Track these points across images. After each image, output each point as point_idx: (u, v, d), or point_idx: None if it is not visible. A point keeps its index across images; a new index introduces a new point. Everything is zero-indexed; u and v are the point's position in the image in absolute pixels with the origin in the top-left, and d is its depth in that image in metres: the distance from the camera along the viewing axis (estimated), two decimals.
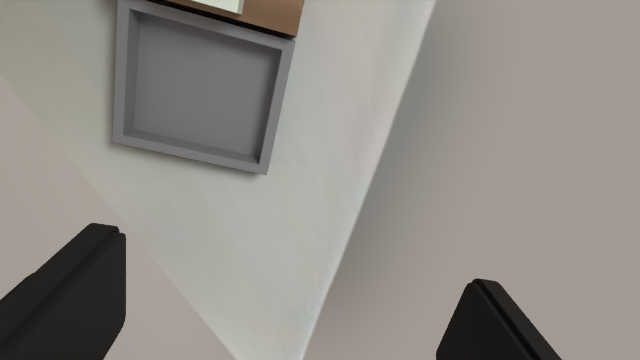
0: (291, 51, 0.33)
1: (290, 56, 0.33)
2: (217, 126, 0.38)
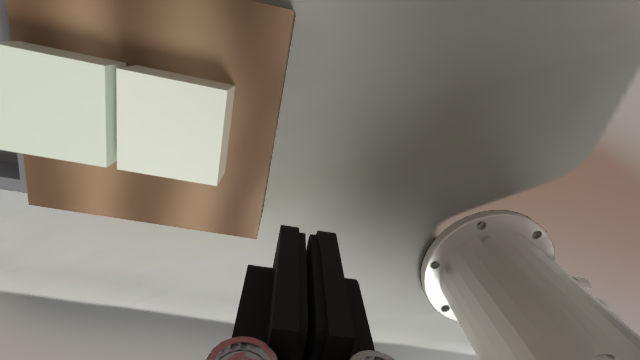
0: (22, 190, 0.25)
1: (15, 189, 0.25)
2: None
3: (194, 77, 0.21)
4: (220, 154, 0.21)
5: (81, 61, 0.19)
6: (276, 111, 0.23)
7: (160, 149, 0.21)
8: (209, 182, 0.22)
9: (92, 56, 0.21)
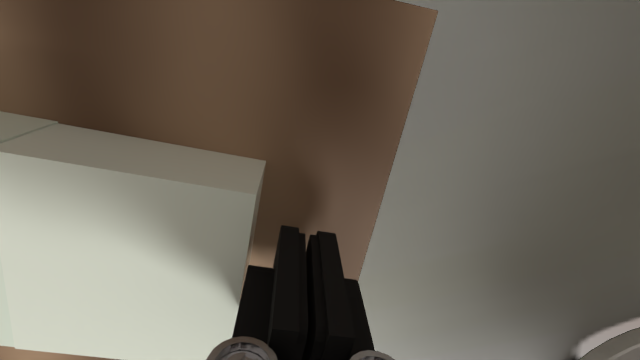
0: None
1: None
2: None
3: (181, 148, 0.10)
4: None
5: None
6: (376, 210, 0.11)
7: (106, 311, 0.09)
8: None
9: None
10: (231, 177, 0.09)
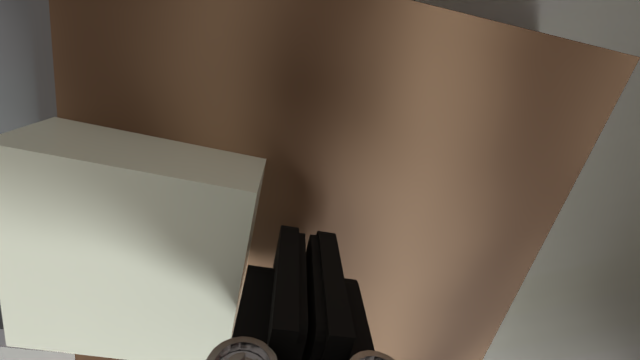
0: None
1: None
2: None
3: (181, 144, 0.10)
4: (234, 314, 0.10)
5: None
6: (543, 236, 0.12)
7: (102, 309, 0.09)
8: None
9: None
10: (231, 175, 0.09)
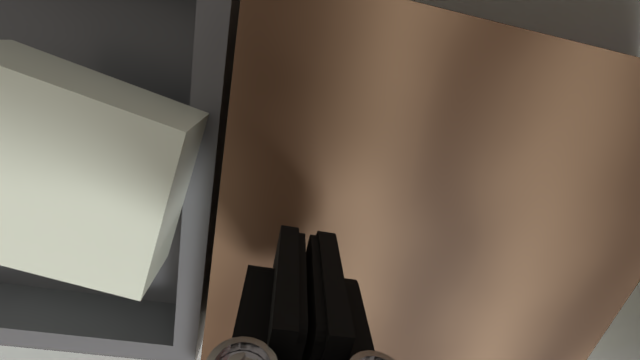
0: None
1: (163, 359, 0.15)
2: None
3: (129, 85, 0.11)
4: (155, 247, 0.11)
5: None
6: None
7: (27, 223, 0.10)
8: (126, 294, 0.11)
9: None
10: (168, 116, 0.10)
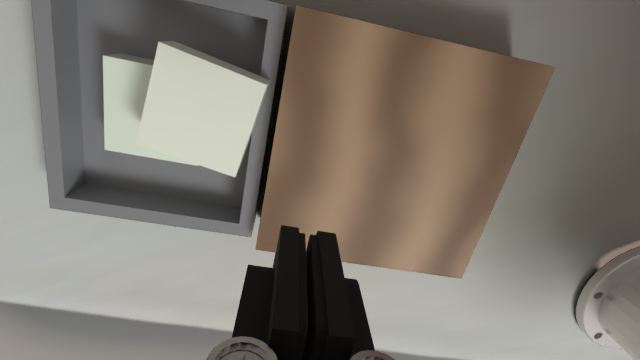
0: (238, 233, 0.26)
1: (232, 233, 0.26)
2: None
3: (231, 64, 0.21)
4: (245, 146, 0.21)
5: (141, 58, 0.23)
6: (512, 160, 0.23)
7: (186, 131, 0.20)
8: (228, 172, 0.21)
9: (136, 61, 0.21)
10: (255, 78, 0.20)
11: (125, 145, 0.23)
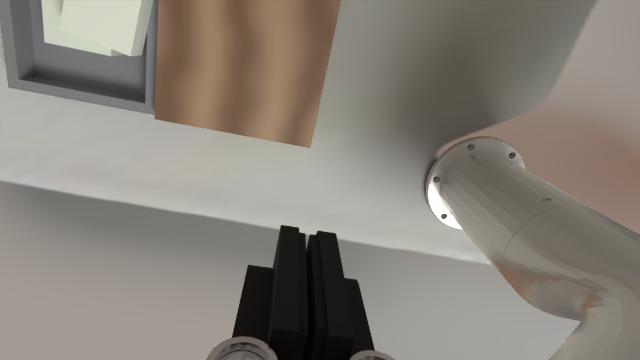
0: (145, 111, 0.36)
1: (141, 111, 0.36)
2: None
3: None
4: (135, 33, 0.31)
5: None
6: (329, 51, 0.33)
7: (93, 20, 0.30)
8: (125, 52, 0.31)
9: None
10: None
11: (58, 39, 0.33)
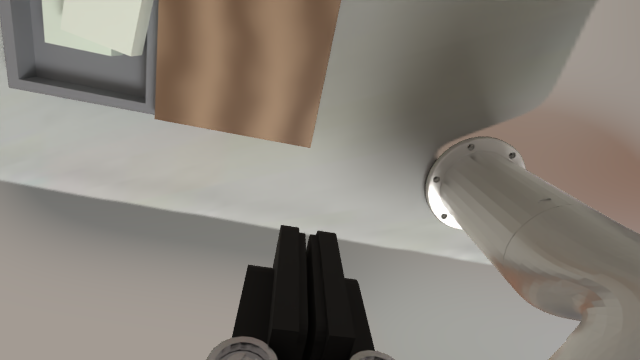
0: (146, 111, 0.36)
1: (141, 111, 0.36)
2: None
3: None
4: (135, 33, 0.31)
5: None
6: (329, 51, 0.33)
7: (93, 20, 0.30)
8: (125, 52, 0.31)
9: None
10: None
11: (59, 39, 0.33)
